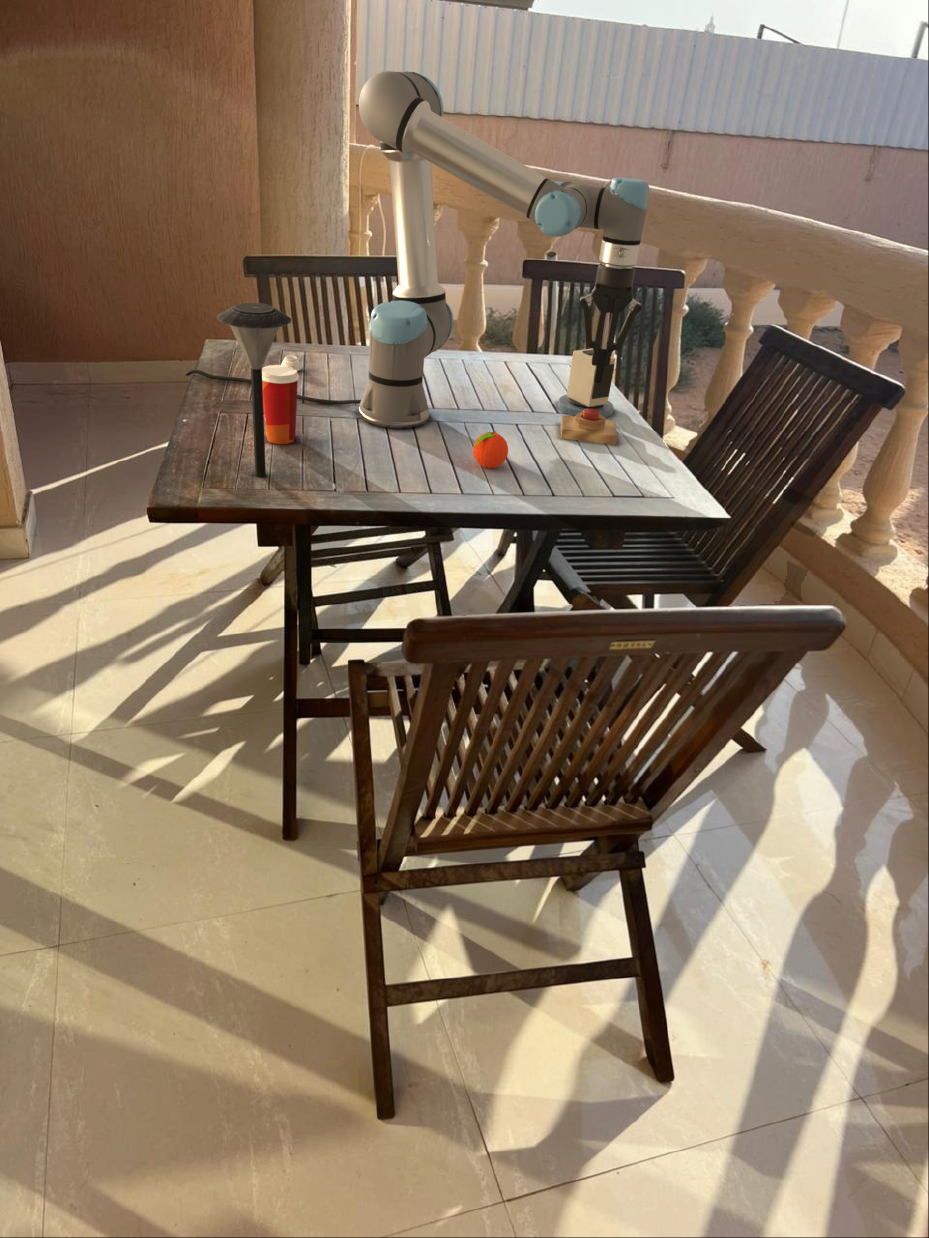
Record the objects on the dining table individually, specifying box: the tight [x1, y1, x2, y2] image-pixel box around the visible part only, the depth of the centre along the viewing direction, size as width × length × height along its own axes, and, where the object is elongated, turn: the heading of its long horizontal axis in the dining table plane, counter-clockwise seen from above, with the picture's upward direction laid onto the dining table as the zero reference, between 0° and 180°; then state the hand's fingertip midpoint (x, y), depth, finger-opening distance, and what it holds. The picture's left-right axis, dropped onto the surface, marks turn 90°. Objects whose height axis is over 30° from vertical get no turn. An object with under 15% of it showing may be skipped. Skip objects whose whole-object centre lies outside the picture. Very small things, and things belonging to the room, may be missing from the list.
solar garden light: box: [216, 302, 292, 478], centre depth 153 cm, size 12×12×30 cm
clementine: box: [472, 431, 509, 469], centre depth 172 cm, size 8×7×7 cm
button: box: [582, 408, 600, 421], centre depth 192 cm, size 4×4×2 cm
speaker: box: [566, 348, 617, 408], centre depth 204 cm, size 9×8×12 cm
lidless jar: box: [280, 355, 303, 372], centre depth 213 cm, size 5×3×5 cm
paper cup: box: [262, 364, 300, 445], centre depth 173 cm, size 8×8×14 cm
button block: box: [560, 412, 619, 446], centre depth 193 cm, size 12×9×4 cm
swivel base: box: [557, 394, 614, 418], centre depth 208 cm, size 13×13×2 cm
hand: (597, 380), depth 188 cm, fingers closed
